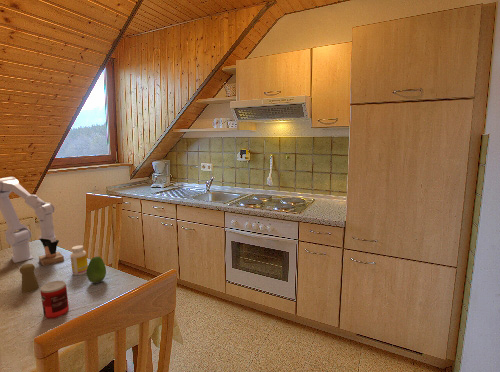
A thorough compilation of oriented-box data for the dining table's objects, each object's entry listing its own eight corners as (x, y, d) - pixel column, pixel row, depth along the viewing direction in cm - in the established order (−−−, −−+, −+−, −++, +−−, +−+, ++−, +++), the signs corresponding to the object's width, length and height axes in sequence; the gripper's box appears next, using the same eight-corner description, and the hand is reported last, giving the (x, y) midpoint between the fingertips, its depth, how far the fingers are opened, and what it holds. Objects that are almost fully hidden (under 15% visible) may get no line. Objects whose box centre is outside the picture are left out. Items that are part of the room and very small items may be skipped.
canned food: (51, 307, 113) (47, 280, 111) (73, 306, 114) (69, 279, 112) (39, 319, 106) (35, 291, 104) (62, 318, 106) (58, 290, 104)
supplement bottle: (91, 269, 144) (88, 244, 142) (82, 275, 138) (79, 250, 136) (78, 268, 145) (75, 244, 143) (69, 275, 139) (66, 249, 136)
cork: (42, 286, 128) (38, 263, 126) (28, 293, 123) (24, 269, 121) (32, 284, 130) (29, 261, 128) (18, 291, 125) (14, 267, 123)
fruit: (111, 279, 134) (108, 255, 132) (95, 288, 127) (92, 262, 125) (99, 276, 137) (96, 252, 135) (83, 284, 130) (80, 258, 128)
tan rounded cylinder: (44, 256, 154) (43, 246, 153) (54, 253, 157) (53, 244, 156) (47, 258, 151) (46, 248, 150) (57, 255, 154) (56, 246, 153)
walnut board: (39, 261, 154) (38, 256, 154) (59, 255, 161) (58, 251, 160) (43, 266, 148) (43, 261, 148) (64, 260, 155) (63, 256, 154)
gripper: (33, 226, 153) (36, 250, 155) (42, 232, 144) (46, 258, 146) (48, 223, 158) (52, 246, 160) (59, 228, 149) (62, 253, 151)
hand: (50, 252), depth 154 cm, fingers open, 7 cm apart
